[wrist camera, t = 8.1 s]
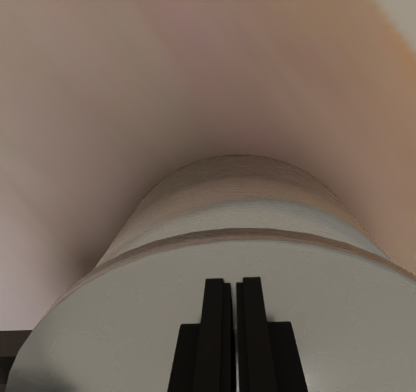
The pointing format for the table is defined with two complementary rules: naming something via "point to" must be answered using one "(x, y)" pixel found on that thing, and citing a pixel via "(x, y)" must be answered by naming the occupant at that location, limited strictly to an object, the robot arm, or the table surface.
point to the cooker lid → (231, 273)
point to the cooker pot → (226, 213)
